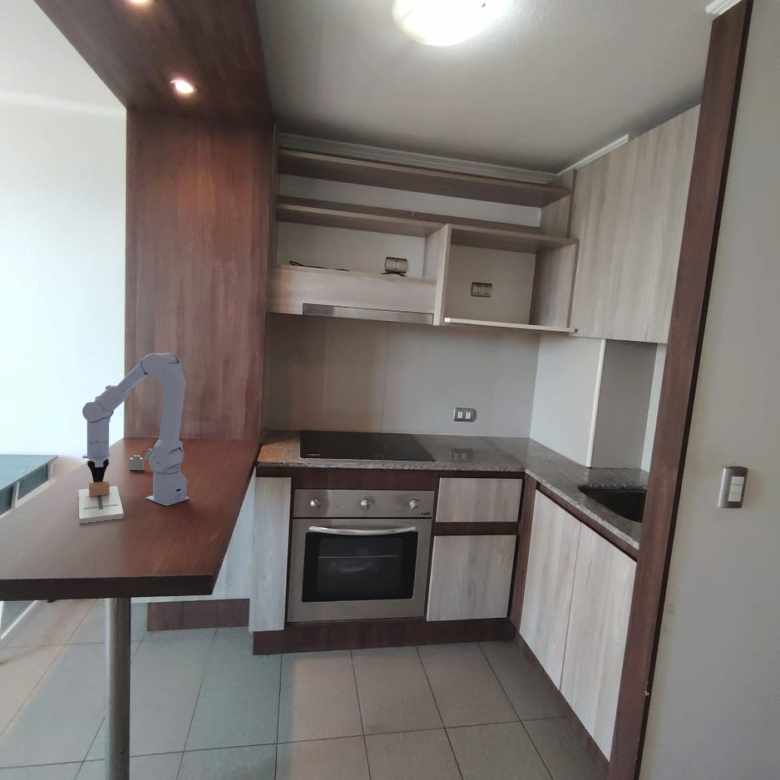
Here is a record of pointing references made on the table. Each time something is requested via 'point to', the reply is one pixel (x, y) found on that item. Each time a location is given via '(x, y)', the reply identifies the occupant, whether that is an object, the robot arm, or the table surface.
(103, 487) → the block
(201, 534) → the table surface
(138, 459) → the lighter
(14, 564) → the table surface
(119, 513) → the fader board
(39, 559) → the table surface
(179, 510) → the table surface
